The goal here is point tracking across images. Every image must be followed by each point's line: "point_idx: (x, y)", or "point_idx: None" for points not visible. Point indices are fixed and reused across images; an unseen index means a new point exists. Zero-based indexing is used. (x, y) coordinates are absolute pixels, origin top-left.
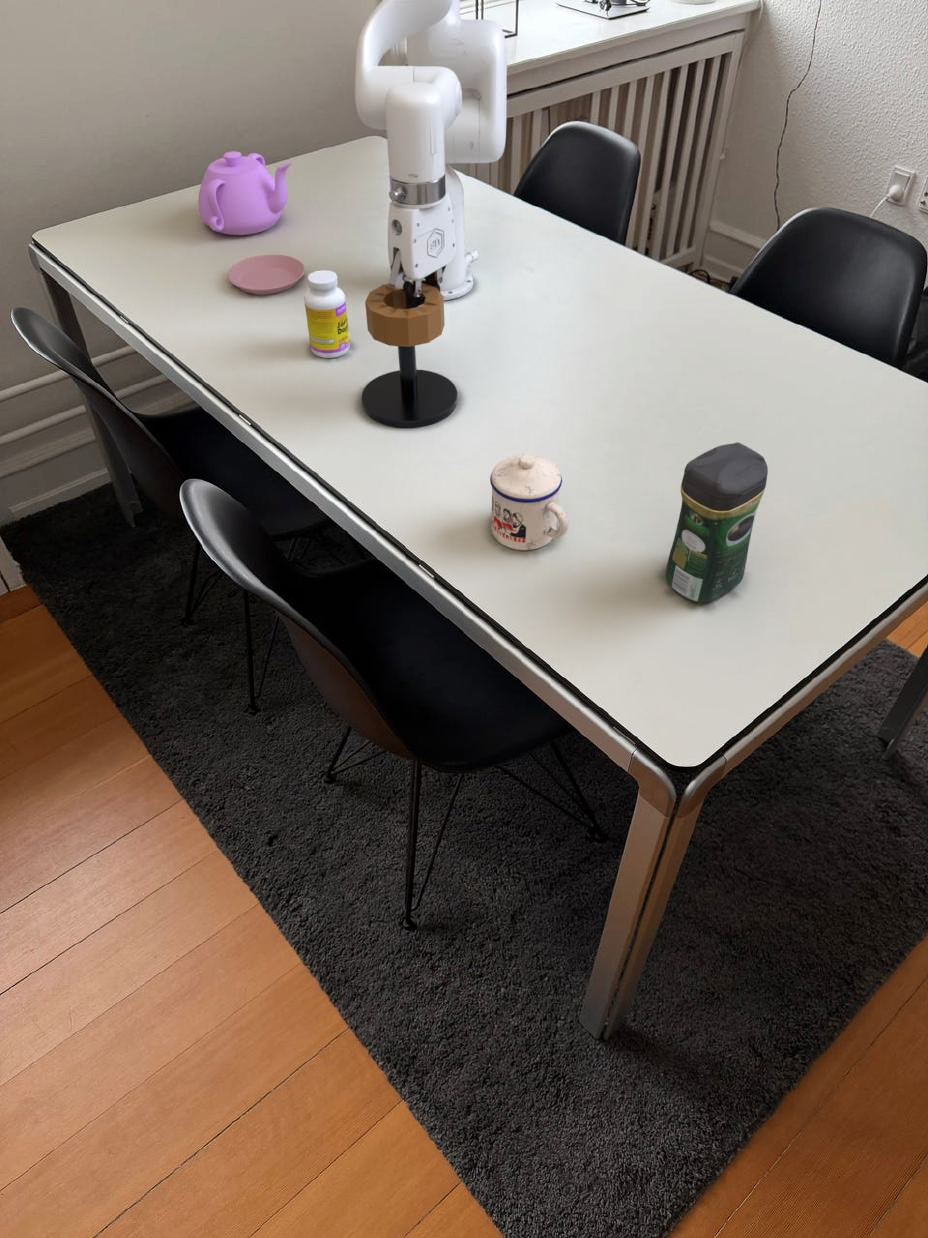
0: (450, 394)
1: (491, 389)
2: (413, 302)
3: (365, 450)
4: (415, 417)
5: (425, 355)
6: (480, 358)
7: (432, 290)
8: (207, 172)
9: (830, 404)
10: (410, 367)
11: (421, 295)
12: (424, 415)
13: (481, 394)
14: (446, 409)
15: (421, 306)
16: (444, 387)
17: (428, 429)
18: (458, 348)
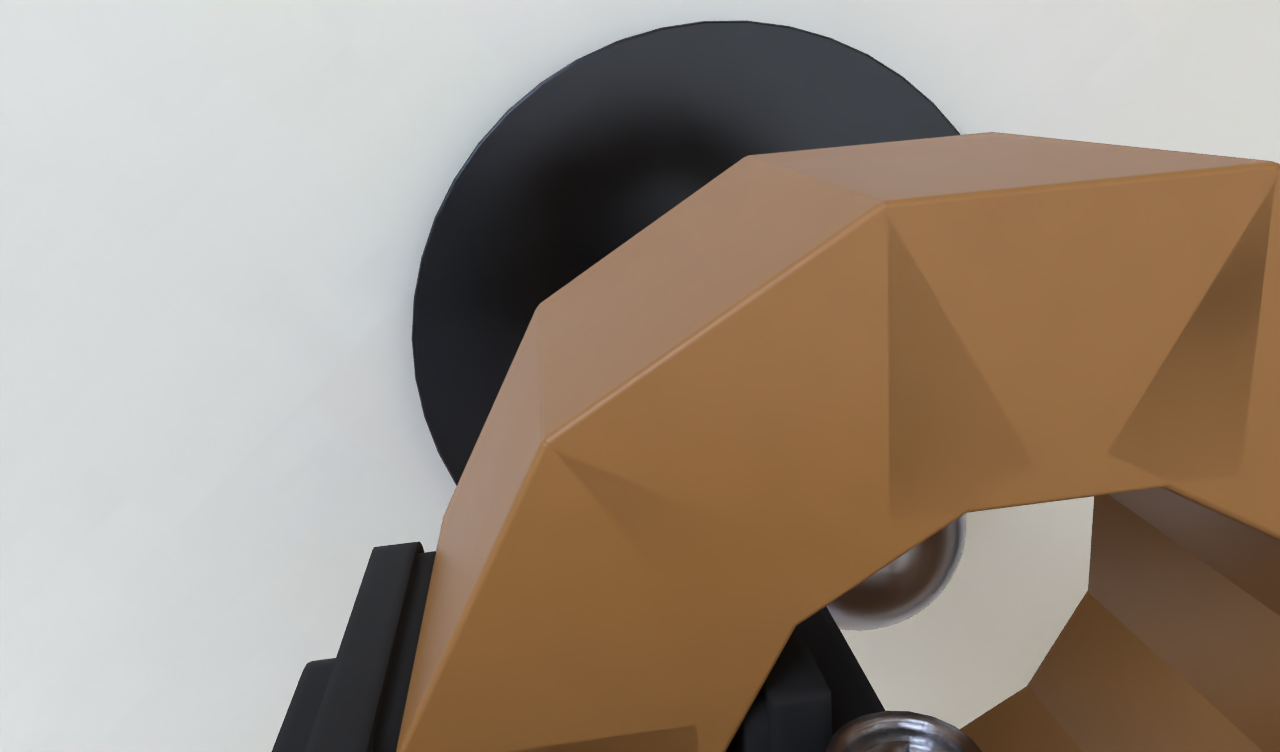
0: (543, 145)
1: (231, 30)
2: (875, 712)
3: (1237, 149)
4: (894, 123)
5: (284, 630)
6: (17, 369)
7: (523, 732)
8: None
9: None
10: None
11: (802, 719)
12: (840, 96)
13: (331, 40)
14: (698, 30)
15: (1099, 447)
16: (510, 238)
17: (869, 18)
18: (57, 555)
